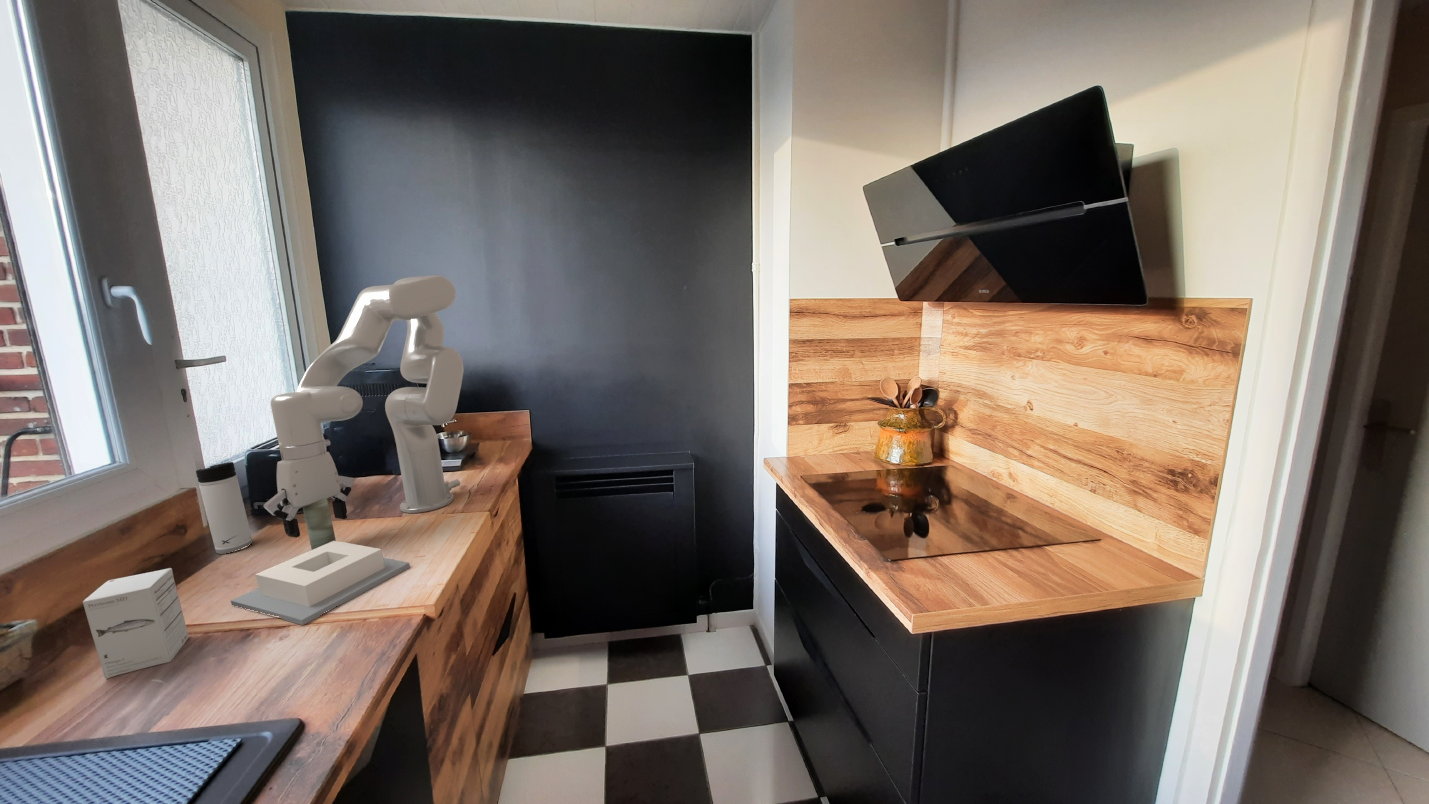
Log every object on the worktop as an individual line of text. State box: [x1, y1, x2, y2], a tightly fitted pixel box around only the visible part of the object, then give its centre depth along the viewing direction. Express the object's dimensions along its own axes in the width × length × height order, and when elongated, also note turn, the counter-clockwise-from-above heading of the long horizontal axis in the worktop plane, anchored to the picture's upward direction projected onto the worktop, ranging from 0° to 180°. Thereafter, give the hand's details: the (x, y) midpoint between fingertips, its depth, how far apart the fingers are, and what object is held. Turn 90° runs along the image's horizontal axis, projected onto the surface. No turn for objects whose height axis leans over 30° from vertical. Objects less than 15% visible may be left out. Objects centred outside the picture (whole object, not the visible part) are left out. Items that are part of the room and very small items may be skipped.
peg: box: [302, 499, 337, 550], centre depth 114 cm, size 4×4×12 cm
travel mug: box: [195, 461, 253, 555], centre depth 117 cm, size 6×7×20 cm
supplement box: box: [82, 567, 189, 680], centre depth 80 cm, size 7×7×13 cm
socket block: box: [230, 540, 411, 626], centre depth 100 cm, size 20×20×5 cm
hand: (318, 526), depth 114 cm, fingers open, 9 cm apart
